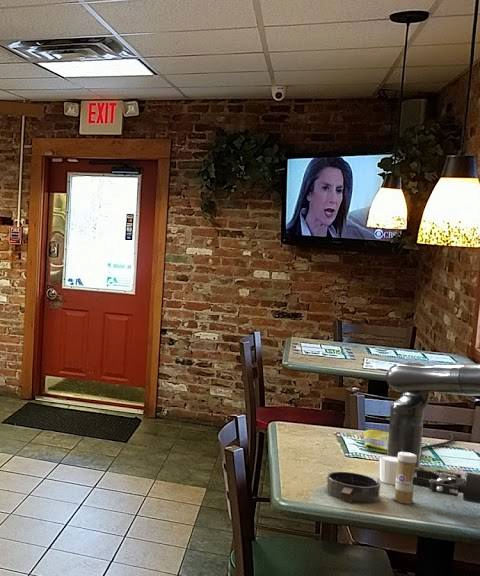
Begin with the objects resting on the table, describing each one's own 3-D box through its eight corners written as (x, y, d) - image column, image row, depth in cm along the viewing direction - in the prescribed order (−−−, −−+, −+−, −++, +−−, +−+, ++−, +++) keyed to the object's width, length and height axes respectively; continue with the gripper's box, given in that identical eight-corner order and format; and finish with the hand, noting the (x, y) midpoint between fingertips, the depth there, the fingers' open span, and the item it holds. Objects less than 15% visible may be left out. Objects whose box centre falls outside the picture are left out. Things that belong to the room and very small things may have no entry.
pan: (331, 483, 225) (332, 468, 225) (382, 494, 217) (383, 478, 217) (322, 495, 214) (323, 480, 214) (374, 507, 207) (376, 490, 206)
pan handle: (344, 499, 212) (345, 486, 211) (352, 501, 210) (353, 488, 210) (339, 506, 207) (340, 492, 206) (348, 508, 205) (349, 493, 205)
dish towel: (362, 450, 261) (362, 442, 261) (364, 434, 282) (364, 427, 282) (421, 459, 253) (422, 451, 252) (418, 442, 274) (419, 434, 274)
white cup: (394, 486, 224) (396, 463, 224) (372, 479, 230) (374, 456, 230) (408, 483, 227) (410, 460, 227) (386, 476, 234) (388, 454, 233)
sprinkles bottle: (392, 501, 212) (396, 453, 211) (396, 497, 215) (399, 450, 214) (411, 505, 209) (415, 457, 208) (414, 501, 212) (418, 453, 211)
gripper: (487, 469, 206) (418, 457, 216) (486, 483, 195) (413, 469, 204) (485, 496, 207) (416, 483, 216) (483, 512, 195) (410, 497, 205)
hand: (414, 476), depth 210 cm, fingers open, 8 cm apart
